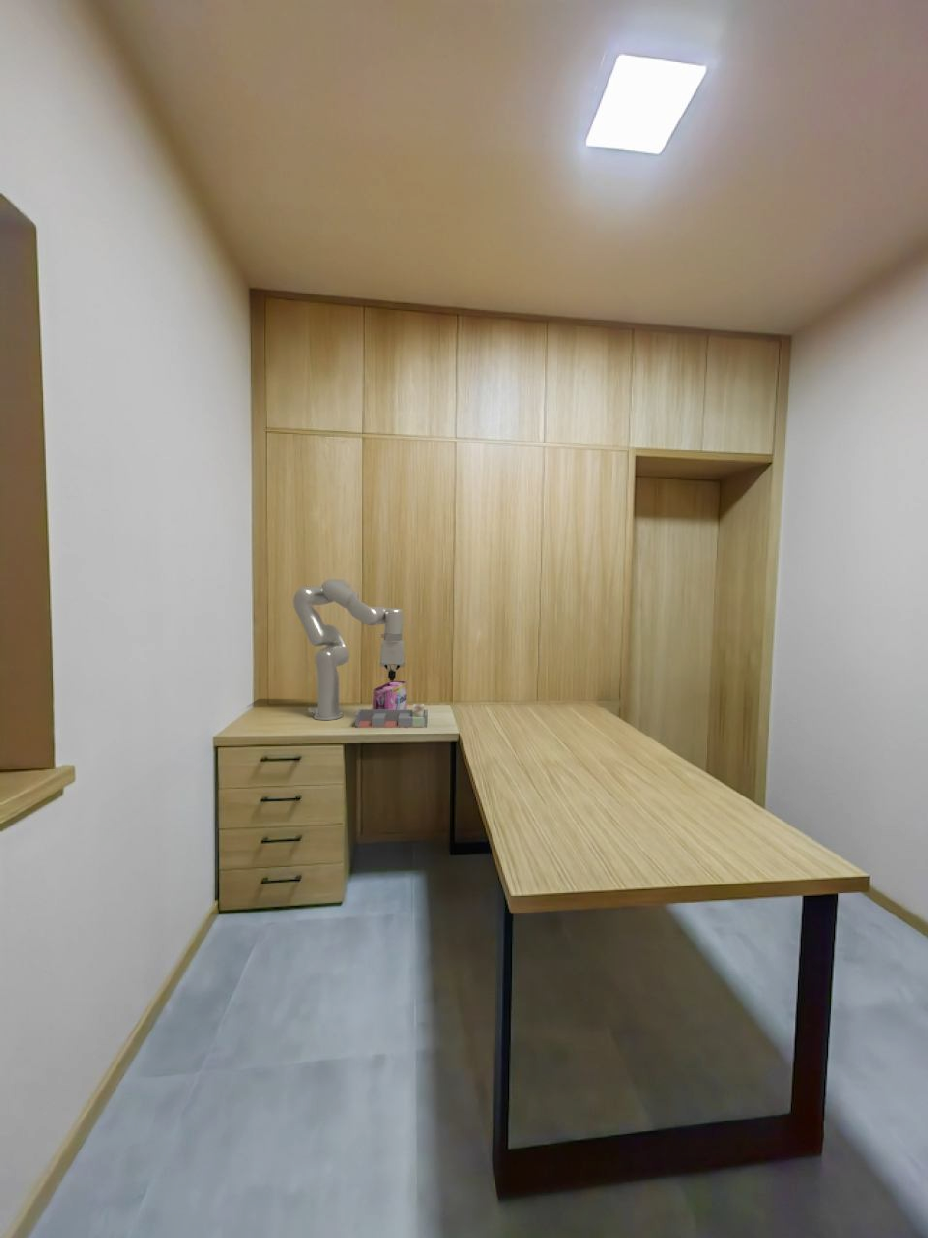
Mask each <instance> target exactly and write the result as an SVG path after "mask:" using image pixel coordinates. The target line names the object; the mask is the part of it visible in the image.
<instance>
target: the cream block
mask: <svg viewBox="0 0 928 1238" xmlns="http://www.w3.org/2000/svg"><path fill="white" fill-rule="evenodd" d="M412 709H413V710H412V717H423V716H424V710H425V704H424V703H413V704H412Z"/></svg>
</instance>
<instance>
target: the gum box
mask: <svg viewBox="0 0 928 1238" xmlns="http://www.w3.org/2000/svg"><path fill="white" fill-rule="evenodd" d="M407 682H408V681H407V680H406V681H405V680H395V679H394V681H392V680H391V681H390V680H389V681H388V682H386V683H383V684H381V685H379V686H376V687H375V688H373V692H372V695H373V696H372V697H373V698H372V709H406V708H407V706H408V705H407V690H408V689H407V687H408V686H407Z"/></svg>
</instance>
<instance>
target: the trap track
mask: <svg viewBox="0 0 928 1238" xmlns="http://www.w3.org/2000/svg"><path fill="white" fill-rule="evenodd" d="M412 710H413V708H411V709H373V708H369V709H367V708H366V709H365V708H359V709H358V710H357V711H356V713H355V714H354V715H355V716H354V722H355V724H354V727H355V729H356V728H363V729H364V728H366V729H367V728H372V727H373V729H374V727H376V728H377V729H378V728H384V729H385V728H388V729H391V728H393V729H394V728H396V729H397V728H401V729H405V728H407V729H410V728H411V729H414V728H415V729H416V728H417V729H421V728H422V729H424V728H423V727H426V729H427V728H428V721H429V719H428V717H429V716H428V715H429V714H428V713H429V709H424V716H423V717H412Z"/></svg>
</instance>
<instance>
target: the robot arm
mask: <svg viewBox="0 0 928 1238" xmlns="http://www.w3.org/2000/svg"><path fill="white" fill-rule="evenodd" d="M333 602H335V603H337V604H338V605H339V606H341V607H343V608H345V609H346V610H347V612H348V613H349V614H350V616H351V617H353V618H354V619H356V620H357V621H359V622H361V623H362V624H365V625H367V626H377V625H384V632H383V634H380V638H382V639H383V640H382V641H381V645H380V653H379V655H380V656H379V666H380V667H384V668H385V669H386V670H387V673H388V676H387V678H388V679H389V682H390V681H394V680H395V679H396V675H397V674H396V673H397V671H398V670H399V669H401V668H405V666H406V664H405V660H406V659H405V658H406V657H405V653H406V652H405V642H404V640H403V625H404V623H403V622H404V612H403V610H402V609H401V608H394V607H393V608H391V607H390V608H389V607H386V606H374V607H371V606H370V605H367V604H365V603H363V602H362V601H361V600H360V595H359V593H358V592H357V591H355V590H354V589H352V588H351V586H350V584H349V583H348V581H346V580H345V579H337V578H330V579H327V580H325V581H324V582H322V584H321V586H304V587H301V588H299V589H298V590H296V592H295V594H294V596H293V600H292V603H293V604H292V605H293V608H294V611H295V614H296V615H297V617H298V619H299V620H300V623H301V625H302V628H303V630H304V632H305V634H306V636H307V639H308V640H309V643H310V644H311V645H312V646H313V647H322V648H319V650H318V651H317V652H316V653H315V656H314V663H315V668H316V669H315V670H316V680H317V681H316V682H317V683H316V684H317V685H316V686H317V687H316V688H317V689H316V690H317V698H316V700H317V702H316V703H317V705H316V706H315V707H308V708H307V712H309V714H311V713H312V714H313V713H314V714H313V717H314V719H315V720H318V721H332V720H333V721H334V720H338V719H340V718H343V715H344V713H343V712H342V711H340V674H339V671H338V669H337V667H341V666H344V665H345V664H347V663H348V661H349V660H350V653H349V649H348V646H347V644H346V642H345V640H344V638H343V636H342V634H341V632H340V630H339V629H338V627H336V626H335V625H334V624H330V623H329V624H328V623H327V624H325V623H324V622H323V620H322V618H321V616H320V614H319V612H318V611H317V610H316V609H315V608H314V607H313V606H323V605H328V604H330V603H333ZM325 646H326V647H325ZM392 665H393V668H392Z"/></svg>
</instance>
